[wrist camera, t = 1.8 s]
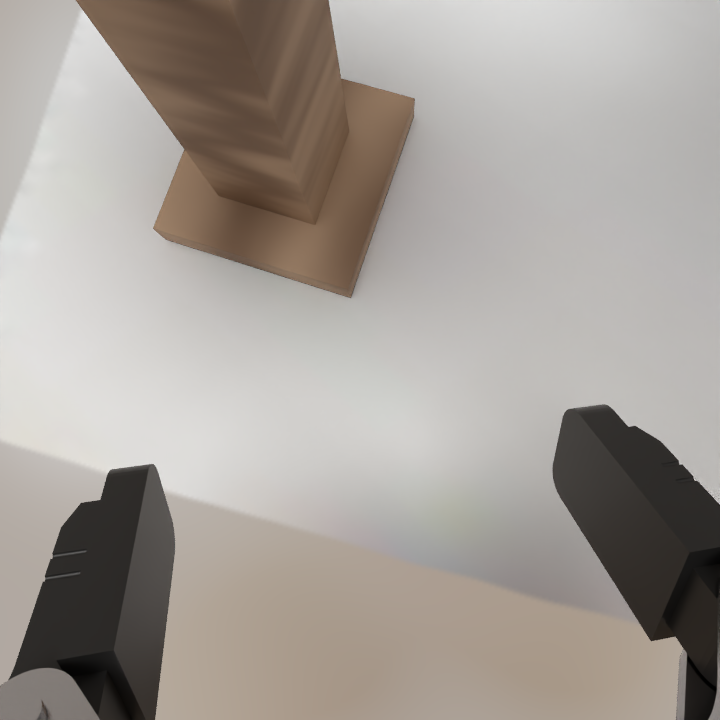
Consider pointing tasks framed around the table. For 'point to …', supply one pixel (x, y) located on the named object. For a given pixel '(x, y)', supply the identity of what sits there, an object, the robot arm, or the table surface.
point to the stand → (262, 131)
